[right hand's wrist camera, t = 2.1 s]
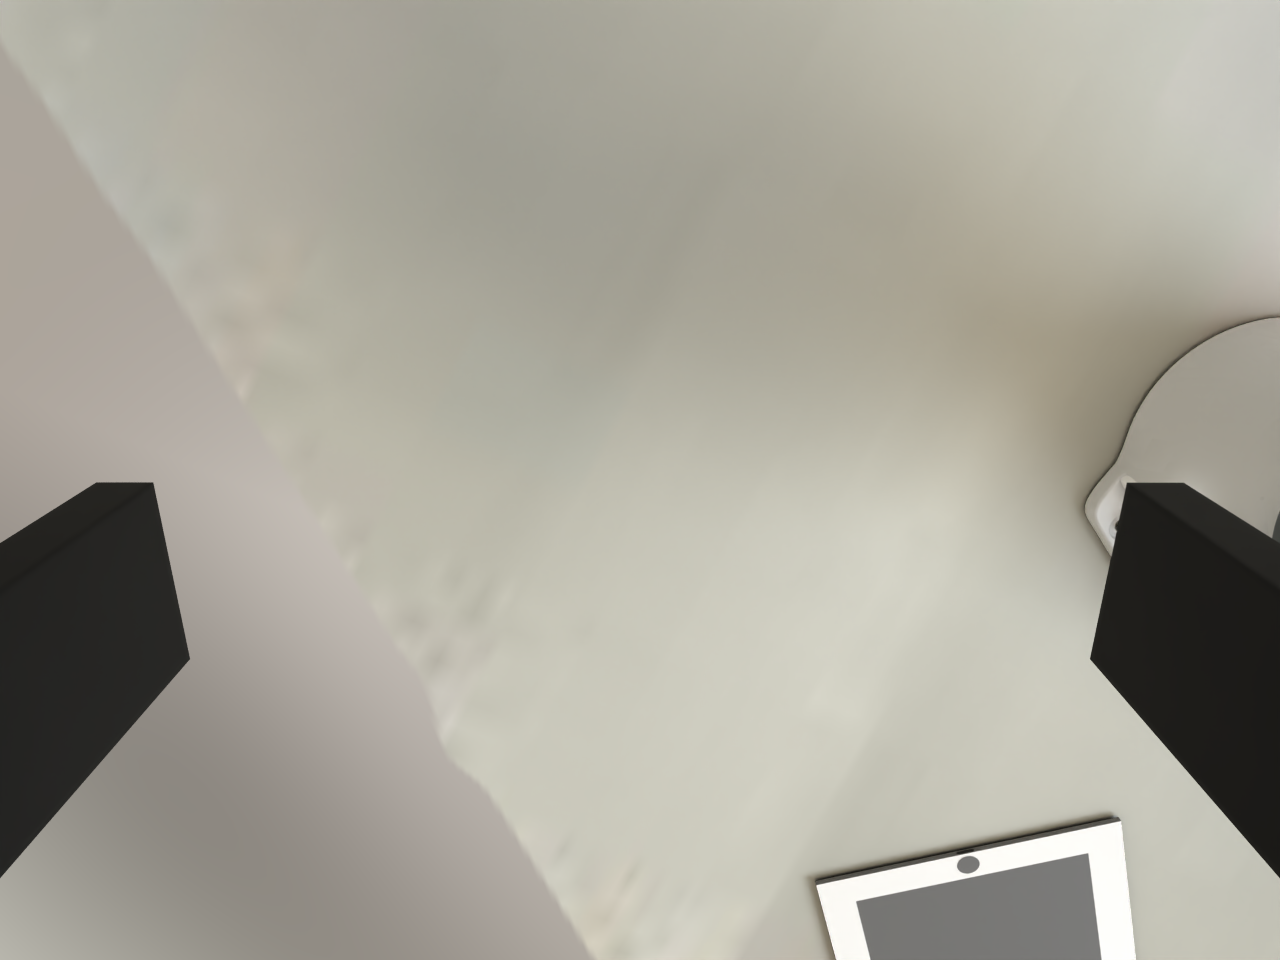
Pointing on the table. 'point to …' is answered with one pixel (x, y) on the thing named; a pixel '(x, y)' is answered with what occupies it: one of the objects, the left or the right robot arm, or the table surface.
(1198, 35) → the table surface
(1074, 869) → the tablet
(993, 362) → the table surface
